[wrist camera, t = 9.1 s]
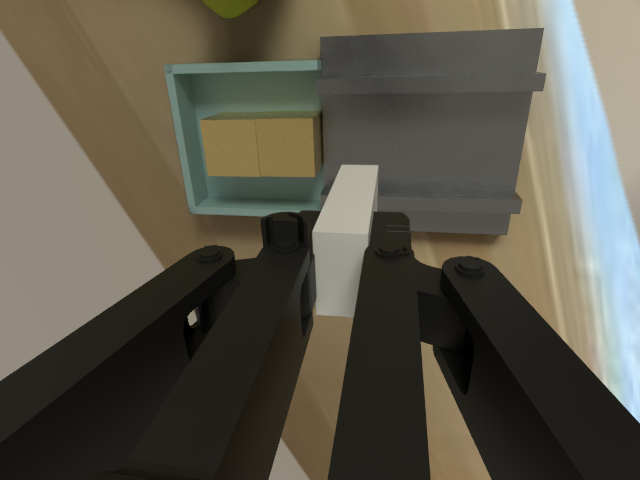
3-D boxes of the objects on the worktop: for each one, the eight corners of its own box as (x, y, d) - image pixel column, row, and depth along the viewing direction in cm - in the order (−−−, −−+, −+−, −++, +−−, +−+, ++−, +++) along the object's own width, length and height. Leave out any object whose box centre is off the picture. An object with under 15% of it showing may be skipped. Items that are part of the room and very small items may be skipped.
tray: (183, 63, 31) (163, 64, 28) (324, 59, 29) (317, 60, 27) (205, 201, 36) (189, 213, 33) (328, 205, 34) (321, 218, 31)
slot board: (324, 37, 29) (315, 36, 26) (536, 29, 26) (555, 26, 23) (328, 220, 35) (321, 237, 31) (502, 227, 32) (513, 246, 29)
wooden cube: (271, 110, 31) (254, 118, 27) (322, 110, 30) (312, 118, 27) (275, 162, 33) (260, 176, 29) (324, 163, 32) (315, 177, 28)
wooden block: (221, 112, 32) (199, 119, 28) (271, 111, 31) (254, 119, 27) (228, 162, 33) (207, 175, 30) (275, 163, 33) (259, 177, 29)
